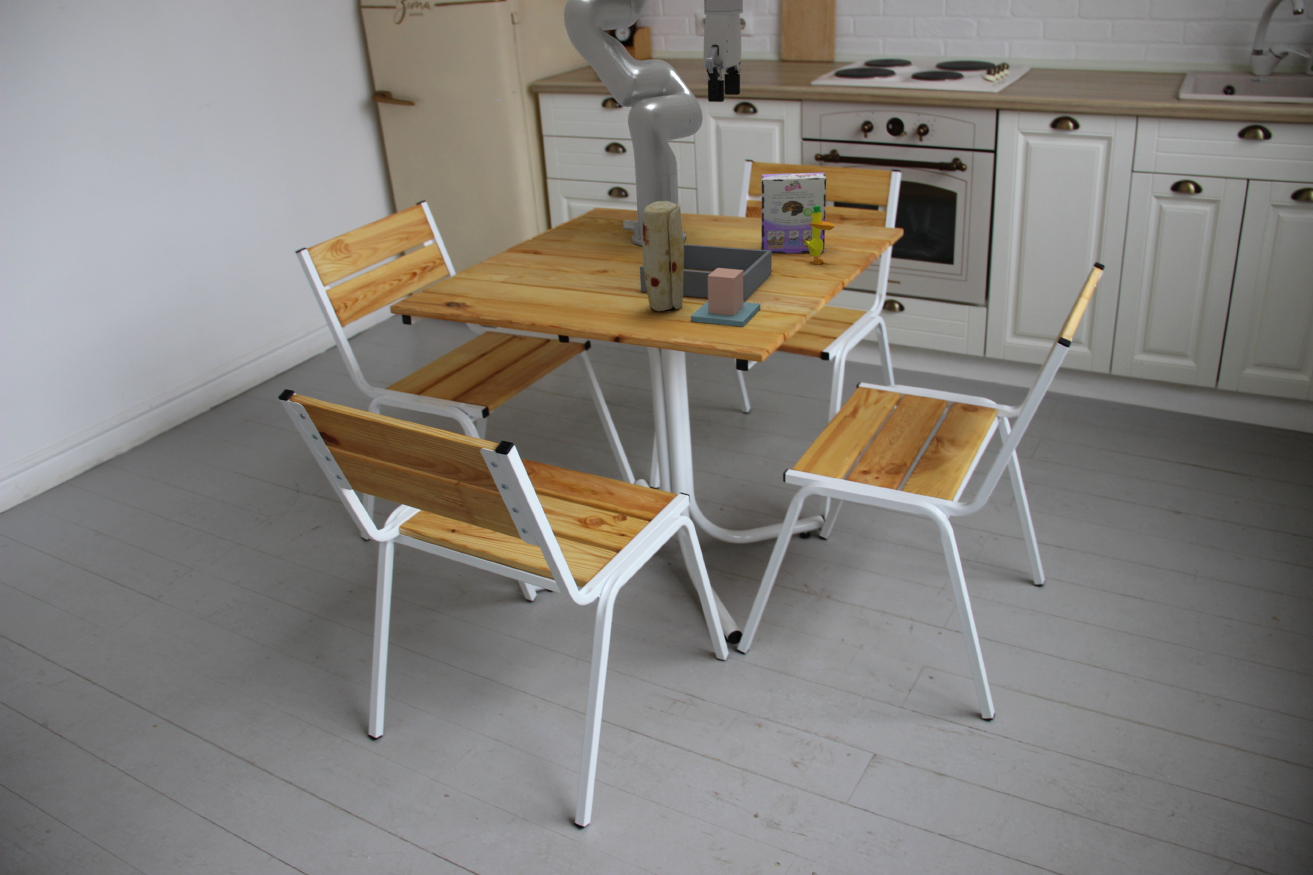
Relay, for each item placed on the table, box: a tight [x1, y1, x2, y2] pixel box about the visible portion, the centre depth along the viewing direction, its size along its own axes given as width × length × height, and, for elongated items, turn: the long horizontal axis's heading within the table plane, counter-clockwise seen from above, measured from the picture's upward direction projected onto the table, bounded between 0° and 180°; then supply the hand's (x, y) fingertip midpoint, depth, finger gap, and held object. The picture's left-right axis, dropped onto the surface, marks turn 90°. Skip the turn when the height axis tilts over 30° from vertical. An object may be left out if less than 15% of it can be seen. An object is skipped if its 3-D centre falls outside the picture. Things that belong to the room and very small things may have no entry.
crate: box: [639, 243, 773, 302], centre depth 196 cm, size 22×18×5 cm
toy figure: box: [806, 206, 836, 265], centre depth 203 cm, size 7×4×12 cm, turn 49°
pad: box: [690, 300, 761, 328], centre depth 179 cm, size 10×10×1 cm
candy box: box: [760, 172, 827, 254], centre depth 211 cm, size 14×6×16 cm, turn 84°
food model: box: [642, 201, 685, 312], centre depth 180 cm, size 10×7×20 cm
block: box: [707, 268, 744, 316], centre depth 177 cm, size 5×5×7 cm
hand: (724, 98), depth 196 cm, fingers open, 9 cm apart
